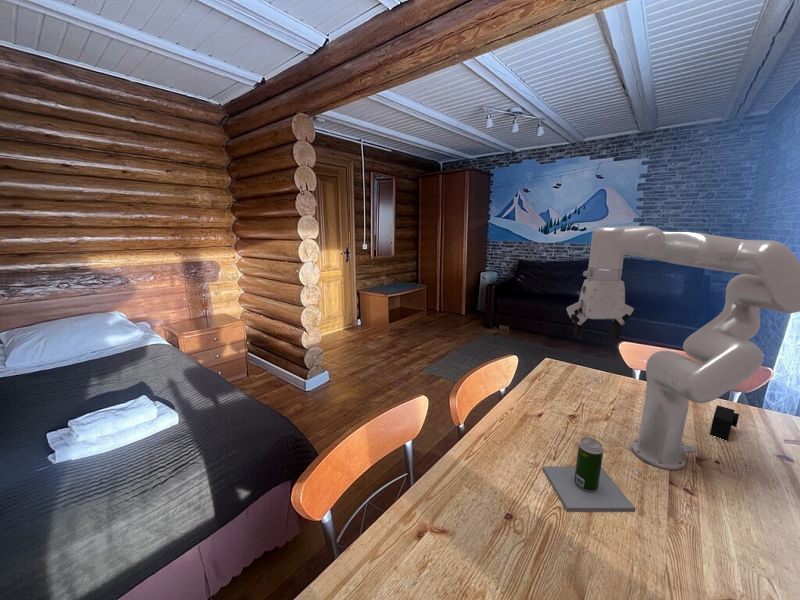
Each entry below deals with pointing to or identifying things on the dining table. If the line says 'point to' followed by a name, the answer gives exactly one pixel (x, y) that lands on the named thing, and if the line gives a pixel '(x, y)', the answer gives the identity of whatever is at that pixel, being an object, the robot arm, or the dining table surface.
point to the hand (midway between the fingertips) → (596, 337)
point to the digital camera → (723, 422)
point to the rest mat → (582, 501)
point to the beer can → (588, 464)
